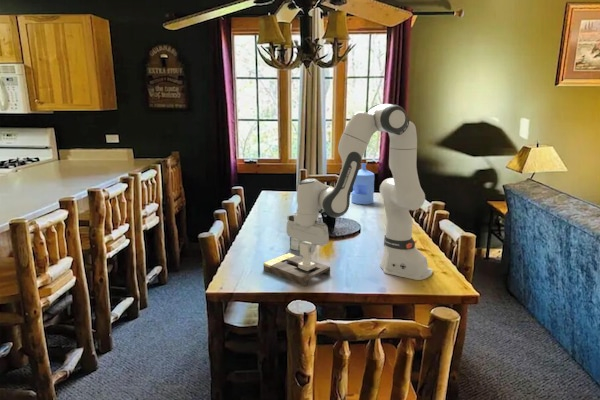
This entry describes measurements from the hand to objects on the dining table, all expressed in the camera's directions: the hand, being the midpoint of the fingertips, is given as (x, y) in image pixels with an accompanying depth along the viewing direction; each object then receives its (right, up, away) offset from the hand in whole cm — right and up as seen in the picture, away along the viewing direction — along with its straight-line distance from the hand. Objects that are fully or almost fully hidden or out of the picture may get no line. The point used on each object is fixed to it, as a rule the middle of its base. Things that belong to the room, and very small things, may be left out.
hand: (306, 250), depth 173 cm
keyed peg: (0, -7, +2) cm, 7 cm away
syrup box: (-4, -3, +35) cm, 35 cm away
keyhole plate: (-4, -10, +7) cm, 13 cm away
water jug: (+42, +19, +127) cm, 135 cm away
